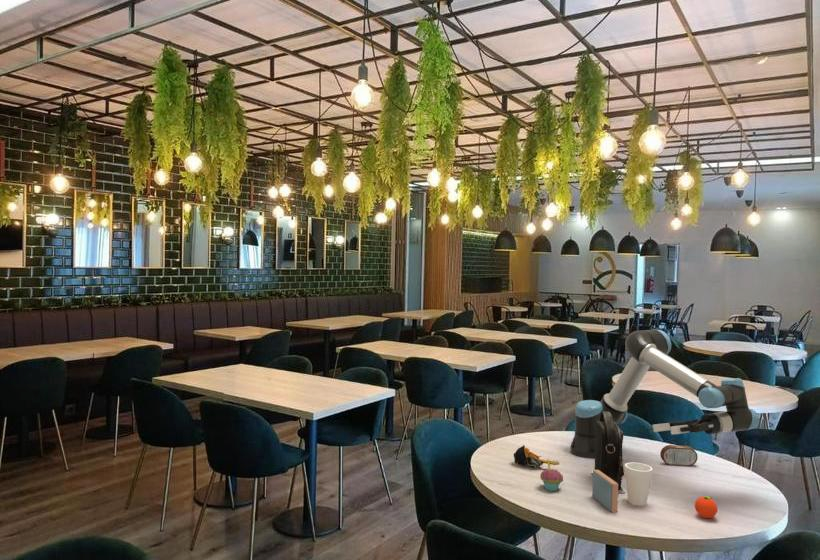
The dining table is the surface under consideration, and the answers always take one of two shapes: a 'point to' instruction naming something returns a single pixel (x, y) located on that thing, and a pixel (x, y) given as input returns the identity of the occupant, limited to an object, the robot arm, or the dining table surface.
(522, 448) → the fried shrimp in bowl
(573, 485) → the dining table surface
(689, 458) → the tin
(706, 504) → the clementine
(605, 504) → the tile
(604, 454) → the shoulder bag
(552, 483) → the cupcake
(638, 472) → the foam cup
